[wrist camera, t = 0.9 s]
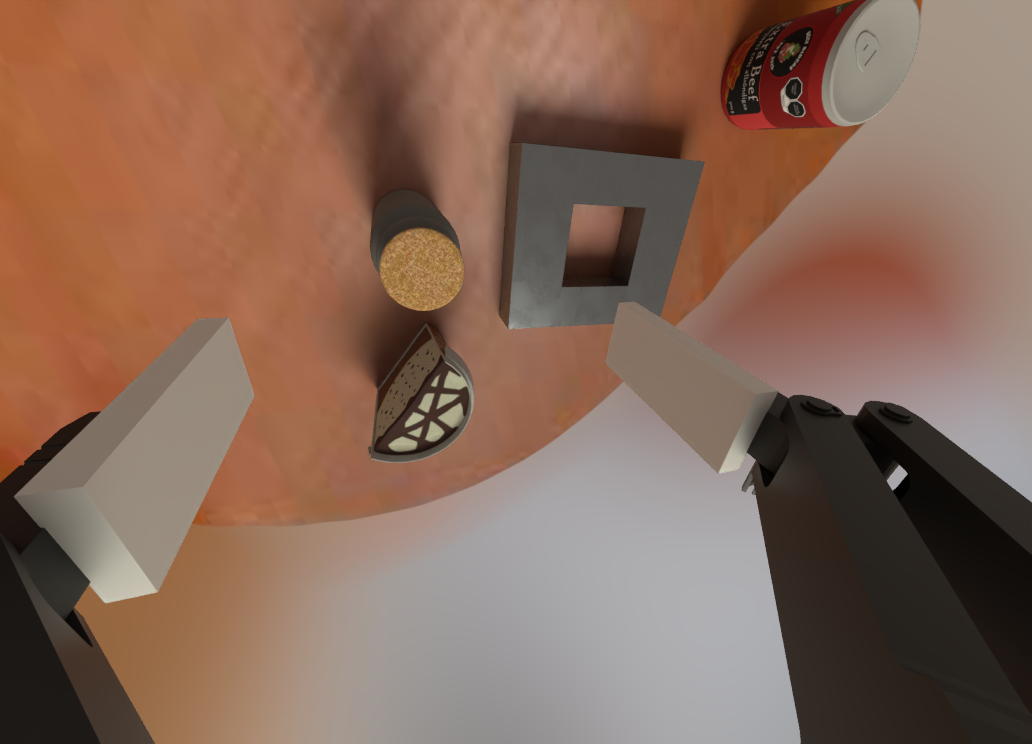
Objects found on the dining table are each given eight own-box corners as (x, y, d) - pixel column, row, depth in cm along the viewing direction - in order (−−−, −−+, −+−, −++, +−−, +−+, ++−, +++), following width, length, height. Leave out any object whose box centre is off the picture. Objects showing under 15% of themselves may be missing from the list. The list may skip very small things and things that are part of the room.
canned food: (745, 12, 33) (883, -37, 24) (801, 51, 36) (941, 21, 27) (703, 113, 36) (810, 103, 27) (758, 141, 39) (870, 140, 30)
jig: (509, 142, 32) (522, 142, 30) (680, 160, 38) (704, 161, 35) (499, 315, 40) (508, 328, 38) (641, 310, 46) (658, 321, 43)
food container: (418, 420, 44) (427, 483, 36) (369, 399, 41) (367, 463, 33) (481, 340, 41) (506, 388, 33) (434, 310, 38) (449, 356, 30)
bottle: (409, 271, 35) (425, 338, 23) (357, 222, 32) (343, 271, 20) (453, 226, 35) (494, 272, 22) (404, 172, 31) (421, 190, 19)
